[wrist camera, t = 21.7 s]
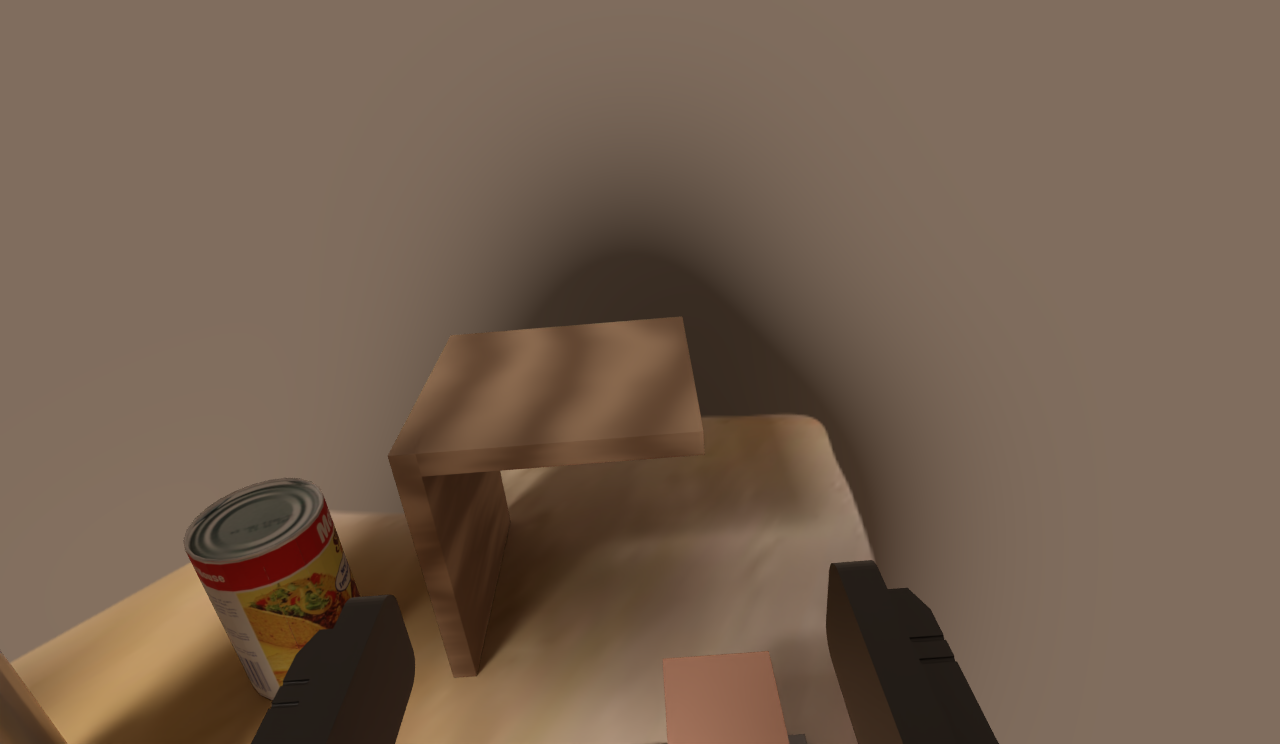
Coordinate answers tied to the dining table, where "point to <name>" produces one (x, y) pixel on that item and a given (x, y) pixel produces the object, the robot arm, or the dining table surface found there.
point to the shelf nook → (528, 442)
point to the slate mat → (797, 739)
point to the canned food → (271, 572)
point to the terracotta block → (723, 700)
